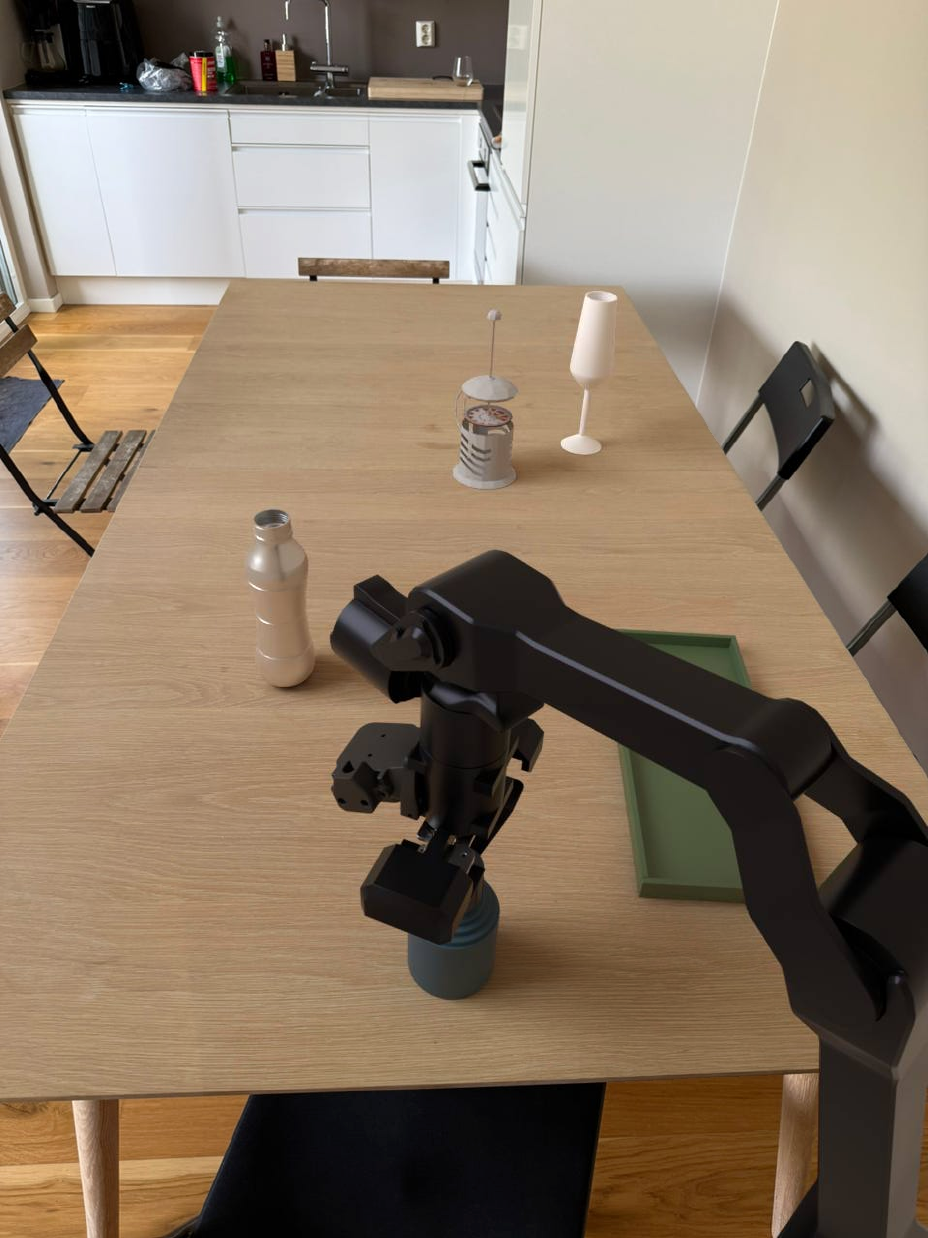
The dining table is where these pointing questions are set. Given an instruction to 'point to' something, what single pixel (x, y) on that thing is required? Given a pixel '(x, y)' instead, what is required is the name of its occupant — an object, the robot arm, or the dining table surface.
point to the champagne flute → (592, 360)
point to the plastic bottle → (279, 600)
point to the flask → (459, 953)
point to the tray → (682, 797)
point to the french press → (486, 430)
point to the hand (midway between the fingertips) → (455, 884)
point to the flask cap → (479, 890)
